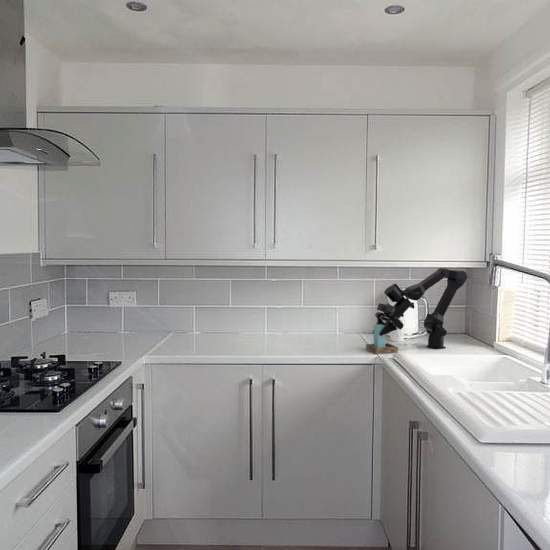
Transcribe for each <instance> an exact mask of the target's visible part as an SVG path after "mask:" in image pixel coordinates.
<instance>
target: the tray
mask: <svg viewBox="0 0 550 550" xmlns="http://www.w3.org/2000/svg"><path fill="white" fill-rule="evenodd" d="M365 350H366V351H369V352H370V353H373V354H374V355H380V354H381V355H385V354H398V353H399V347H398V346H397V345H394V344H391V343H389V342H385V348H376V347H374V343H365Z"/></svg>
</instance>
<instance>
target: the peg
mask: <svg viewBox="0 0 550 550" xmlns="http://www.w3.org/2000/svg"><path fill="white" fill-rule="evenodd" d="M373 325H374V326H373V327H374V329H373V331H374V333H373V344H374V347H376V348H385V343H386V334H384V335H382V336H380V335H379V334H380V332H381V331H382V329H383V328H384V326H385V325H382V324H378V325H376V324H373Z"/></svg>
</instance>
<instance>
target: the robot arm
mask: <svg viewBox="0 0 550 550" xmlns="http://www.w3.org/2000/svg"><path fill="white" fill-rule="evenodd" d="M444 278H446V279H447V280H446V287H445V289H444V291H443V293H442V296H441V297H440V300H439V301H438V303H437V305H436V307H435V309H434V311H433V312H432V313H427V314H426V317H425V318H424V319H423V327H424V329H425V331H426V333H427V334H428V337H427V338H428V339H427V341H428V342H427V345H426V347H427V348H430V349H433V350H439V349H446V348H447V347H446V346H444V341H445V340H444V337H445V336H446V335H447V332H448V331H447V330H446V329H445V328H444V322H445V321H444V320H445V319H444V316H445V314H446V313H447V311H448V308H449V306H450V304H451V303H452V301H453V298H454V297H455V294H456V293H457V292H458V290H459V289H460V288H461V287H463V286H464V284H465V282H466V281H467V280H468V274H467V272H466V271H464V270H457V269H454V270H453V269H448V268H444V267H440V268H438V269H437V270H436V271H434V272H433V273H431V274H430V275H429V276H427V277H425V278H424V279H423V280H422V281H419V282H418V283H415V284H412V285H410V286H408V287H406V288H405V289H403V290H402V289H401V288H400V287H399V285H398V284H397V283H393V284H392V285H389V286H388V287H387V288H386V289H385V290H384V294H385V296H386V297H387V298H388V299H389V300H390V301H391V302H392V303H394V305H392V304H390V303H386V304H384V303H381V302H379V303H378V305H377V307H376V310H377V312H376V313H375V314H374V316H375V317H376V320H377V321H376V324H375V325H378V324H382V325H385V326H384V328H383V329H382V331H381V332H380V334H379V335H380V336H382V335H384V334H385V335H386V334H388V333H389V332H392V331H394V330H397V328H398V329H400V330H401V329H402V328H403V326H404V324H403V323H402V322H401V321H400V320H401V319H400V318H404V316H405V313H406V311H407V310H409V309H412V310H413V309H415V302H413V301H418V300H419V301H420V299H421V298H422V297H423V296H424V295H425V293H426V291H427V290H429V289H430V288H432V287H433V286H435V285H436V284H438V283H439V282H441V280H443V279H444ZM410 300H411V301H410ZM372 333H373V334H374V330H373V331H372Z"/></svg>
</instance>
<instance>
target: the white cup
mask: <svg viewBox="0 0 550 550" xmlns="http://www.w3.org/2000/svg"><path fill="white" fill-rule="evenodd" d="M399 320H400V321H401V322H402V323H403V324H404V326H403V328H402V329H401V330H400V329H398V328H397V330H394V331H392V332H389V341H391V342H395V343H396V342H398V343H401V342H403V341H404V338H405V330H406V328H405V326H406V321H405V320H402V319H399Z"/></svg>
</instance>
